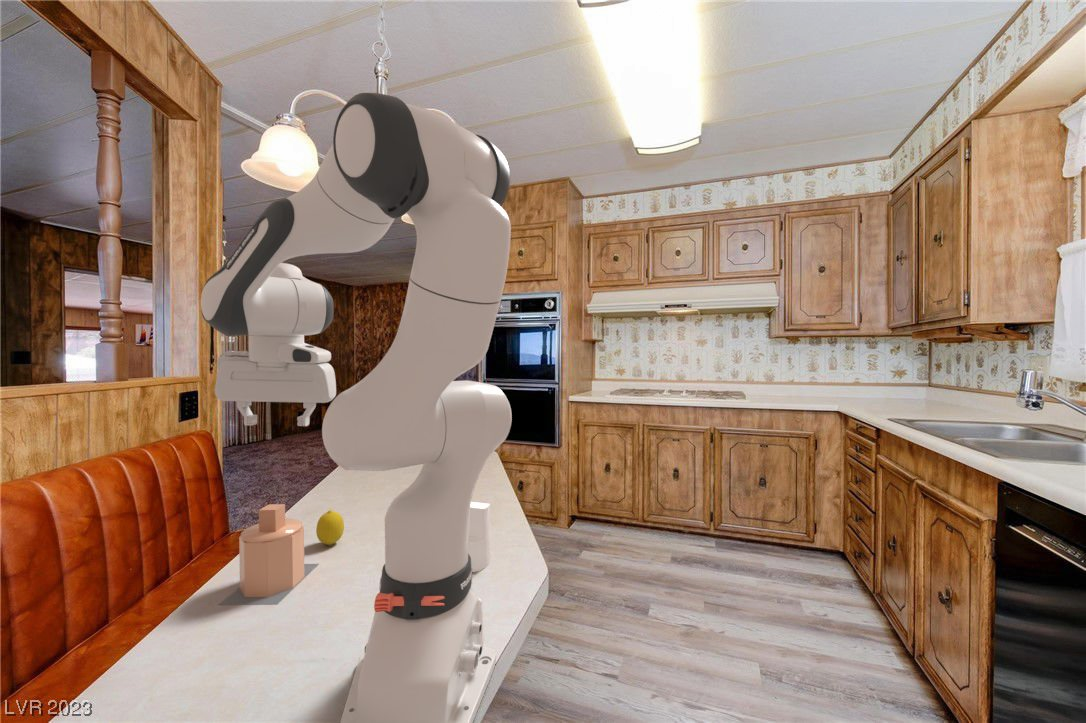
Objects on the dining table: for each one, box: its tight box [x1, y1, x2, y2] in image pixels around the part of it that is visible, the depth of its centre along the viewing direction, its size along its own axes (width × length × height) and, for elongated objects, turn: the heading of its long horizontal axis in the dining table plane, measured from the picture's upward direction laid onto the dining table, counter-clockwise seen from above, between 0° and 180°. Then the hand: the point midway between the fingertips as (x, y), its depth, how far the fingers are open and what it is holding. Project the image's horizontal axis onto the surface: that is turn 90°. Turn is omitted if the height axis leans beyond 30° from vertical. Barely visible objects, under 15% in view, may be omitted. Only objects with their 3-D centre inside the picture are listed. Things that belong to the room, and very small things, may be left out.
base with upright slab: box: [468, 501, 491, 573], centre depth 88 cm, size 9×9×12 cm
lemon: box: [315, 509, 345, 546], centre depth 95 cm, size 6×6×8 cm
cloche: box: [238, 503, 305, 597], centre depth 79 cm, size 10×10×14 cm
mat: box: [217, 563, 320, 606], centre depth 79 cm, size 14×10×1 cm
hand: (277, 425), depth 80 cm, fingers open, 8 cm apart
